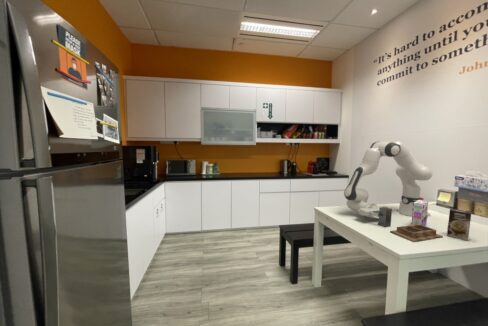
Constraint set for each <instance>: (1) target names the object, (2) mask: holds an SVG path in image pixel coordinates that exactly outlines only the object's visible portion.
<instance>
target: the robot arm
mask: <svg viewBox="0 0 488 326" xmlns="http://www.w3.org/2000/svg"><path fill="white" fill-rule="evenodd" d="M382 157H388V158H393V160H394V161H395V163H396V164H397V165H398V166H397V167H396V168H395V175H396V176H398V178H399V179H400V181H401V185H402V193H401V199H400V201H399V206H398V209H397V210H398V213H399V214H400V215H404V216H409V217H412V212H413V203H414V202H416V201H418V200H422V201H425V199H424V197H422V196H421V190H422V189H421V186H419V185H418V184H417V182H416V181H429V180H431V178H432V176H433V171H432V169H431V168H429V167H428V166H426V165H423V164H422V163H421V162H419V161H418V160H417V159H416V158H415V157H414V155H412V153H411V152H410V150H409V149H408V148H407V146H406V144H404V143H403V142H402V141H398V140H396V141H393V142H390V141H375V142H373V143H372V144H371V145H370V147H369V148H367V150H366V151H365V152H364V155H363V158H362V160H361V163H360V165H359V166H358V167H357V168H356V169H355V170H354V171H353V174H352V175H351V178H350V180H349V182H348V184H347V186H346V187H345V189H344V192H343V195H344V198H345V199H346V206H347V208H349V209H350V210H351V211H354V212H356V213H358V214H359V215H362V216H365V217H372V216H373V217H378V218H379V207H382V206H380V205H378V204H377V203H376V204H375V203H369V202H368V199H369V193H368V190H366V189H364V188H358V186H359V183H360V181H361V179H362V178H363V177H364V176H365V177H366V176H369V175H372V174H374V173H375V172H376V171H377V169H378V167H379V163H380V159H381V158H382ZM429 216H431V213H429V212H427V217H429Z"/></svg>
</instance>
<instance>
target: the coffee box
mask: <svg viewBox="0 0 488 326" xmlns="http://www.w3.org/2000/svg"><path fill="white" fill-rule="evenodd" d="M471 221H472V211H469V210H468V211H467V210H463V209H457V208H449V215H448V222H447V223H448V225H447V231H446V237H449V238H450V237H451V238H455V239H459V240H464V241H469V236H470V228H471Z"/></svg>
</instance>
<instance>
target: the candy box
mask: <svg viewBox="0 0 488 326" xmlns="http://www.w3.org/2000/svg"><path fill="white" fill-rule="evenodd" d="M428 209H429V201H427V200H418V201H416V202H414V203H413V212H412V216H411V224H410V225H416V224H420V225H423V226H426V225H427V221H428V216H427V213H429V212H428V211H429V210H428Z"/></svg>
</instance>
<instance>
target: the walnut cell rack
mask: <svg viewBox="0 0 488 326" xmlns="http://www.w3.org/2000/svg"><path fill="white" fill-rule="evenodd" d="M389 232H390V233H391V234H393V235H395V236H398V237H400V238H403V239H405V240H407V241H409V242H413V243H419V242H423V241H429V240H436V239H441V238H444V237H443V236H444V235H442V234H439V233H437V229H435V228H431V227H429V226H426V225H425V226H423V225H420V224H416V225H411V224H409V225H402V226H397V227H396V229H394V230H393V229H392V230H390V231H389Z"/></svg>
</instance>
